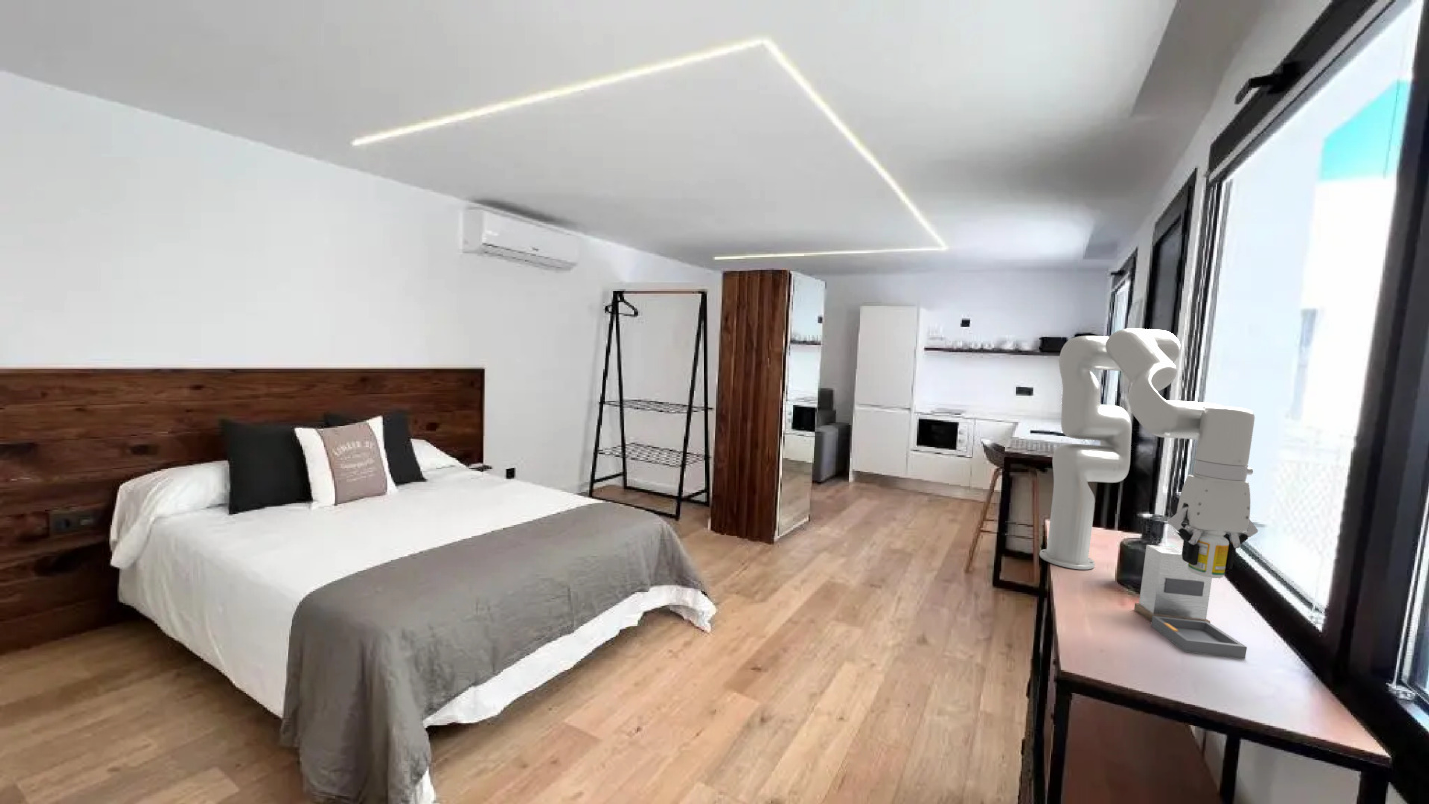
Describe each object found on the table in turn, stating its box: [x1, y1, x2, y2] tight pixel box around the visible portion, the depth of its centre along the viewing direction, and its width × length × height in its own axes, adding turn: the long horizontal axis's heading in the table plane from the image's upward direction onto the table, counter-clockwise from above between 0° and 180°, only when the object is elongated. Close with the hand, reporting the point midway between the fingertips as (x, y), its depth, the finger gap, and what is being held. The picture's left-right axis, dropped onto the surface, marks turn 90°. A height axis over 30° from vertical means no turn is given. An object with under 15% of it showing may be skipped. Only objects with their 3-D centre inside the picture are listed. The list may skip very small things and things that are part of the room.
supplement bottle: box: [1188, 530, 1229, 579], centre depth 110 cm, size 5×5×10 cm
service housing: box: [1133, 544, 1213, 624], centre depth 121 cm, size 6×11×15 cm, turn 82°
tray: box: [1150, 616, 1248, 659], centre depth 112 cm, size 10×10×2 cm
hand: (1206, 563), depth 111 cm, fingers closed on supplement bottle, 5 cm apart
